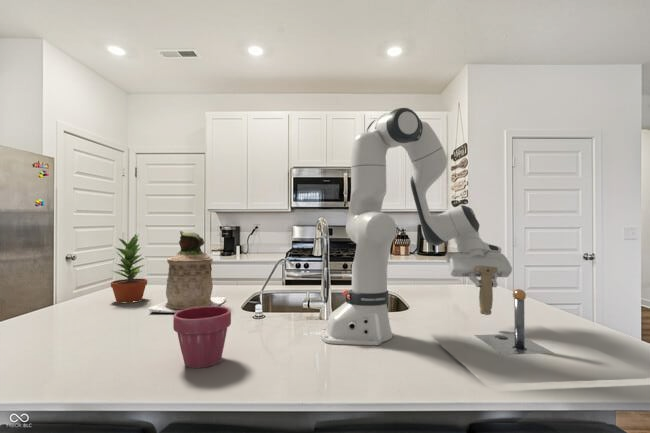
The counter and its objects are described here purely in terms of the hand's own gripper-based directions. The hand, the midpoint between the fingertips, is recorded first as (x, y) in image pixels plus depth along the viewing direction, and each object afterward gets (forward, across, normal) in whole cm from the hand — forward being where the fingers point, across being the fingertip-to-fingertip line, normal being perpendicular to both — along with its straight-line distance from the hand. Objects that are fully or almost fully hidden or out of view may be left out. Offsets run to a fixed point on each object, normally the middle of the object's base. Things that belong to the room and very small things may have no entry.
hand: (487, 286), depth 117 cm
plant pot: (+23, -84, +2) cm, 87 cm away
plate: (+19, +1, +2) cm, 20 cm away
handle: (+6, 0, +7) cm, 9 cm away
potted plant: (-29, -135, +55) cm, 149 cm away
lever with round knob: (+21, +1, -2) cm, 21 cm away
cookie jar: (-19, -105, +45) cm, 116 cm away
